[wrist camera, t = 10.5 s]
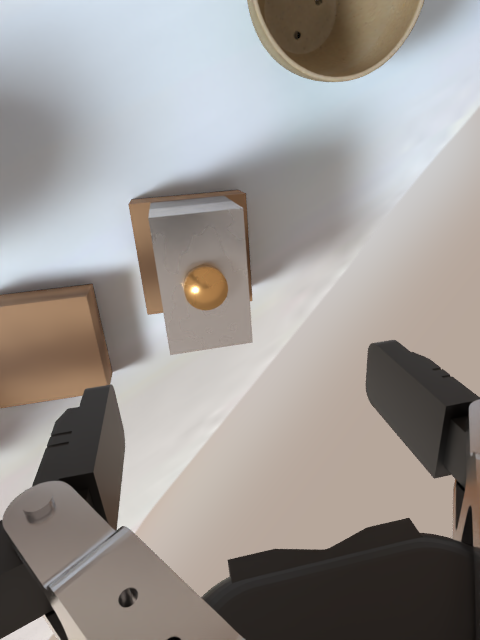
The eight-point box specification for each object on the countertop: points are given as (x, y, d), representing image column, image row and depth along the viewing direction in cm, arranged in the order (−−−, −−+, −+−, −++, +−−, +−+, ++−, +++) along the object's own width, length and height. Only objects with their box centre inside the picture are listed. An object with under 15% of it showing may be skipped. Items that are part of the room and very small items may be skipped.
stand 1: (-18, 296, 30) (-35, 311, 27) (92, 283, 31) (86, 296, 29) (13, 387, 33) (0, 408, 31) (112, 372, 34) (108, 391, 32)
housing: (150, 202, 27) (147, 220, 20) (223, 195, 28) (246, 210, 21) (167, 312, 30) (170, 361, 23) (233, 303, 31) (255, 347, 24)
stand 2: (131, 199, 30) (128, 204, 27) (238, 189, 31) (245, 193, 28) (148, 301, 33) (147, 314, 30) (244, 289, 34) (252, 300, 31)
